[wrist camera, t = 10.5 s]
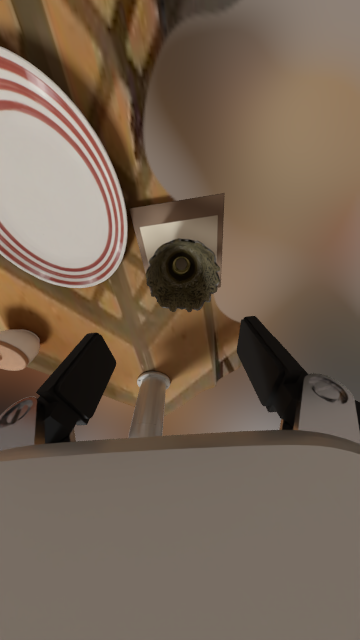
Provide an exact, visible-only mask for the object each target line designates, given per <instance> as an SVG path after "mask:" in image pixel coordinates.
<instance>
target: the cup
mask: <svg viewBox="0 0 360 640" xmlns="http://www.w3.org/2000/svg"><path fill="white" fill-rule="evenodd" d="M180 258H183V259H185V260H186V262H187V266H186V268H185V269H183V270H179V269H178V268H177V267H176V261H177V260H178V259H180ZM148 263H149V264H150V266H149V267H148V269H147V271H146V278H147V285H148V286H149V288H151V296H152V297H154V296H155V297H156V299H157V302H158V303H159V305H160V306H161V307H163V308H169V309H170V311H172V312H175V311H176V309H177V308H180V309H186V310H187V312H191V311H192V309H194V310H200V309H201V308H202V306H203V304H204V302H205V301H207V302H210V300H211V294H213V293H215V292H217V285H218V284H219V283H220V278H219V275H218V273H217V272H219V271H221V270H220V267H219V266H218V264H217V263H216V256H215V254H214V252H213V251H212V250H210V249H209V248H208V247H206V246H205V245H204V244H203V243H202V242H200V241H197V240H196V241H194V240H190V239H180V238H178V239H174V240H172V241H170V242H167V243H165V244H163V245H161V246H160V247H159V248H158V249H157V250H156V251H155V253H154V255H153V257H151V258H150V260H149V262H148Z"/></svg>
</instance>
